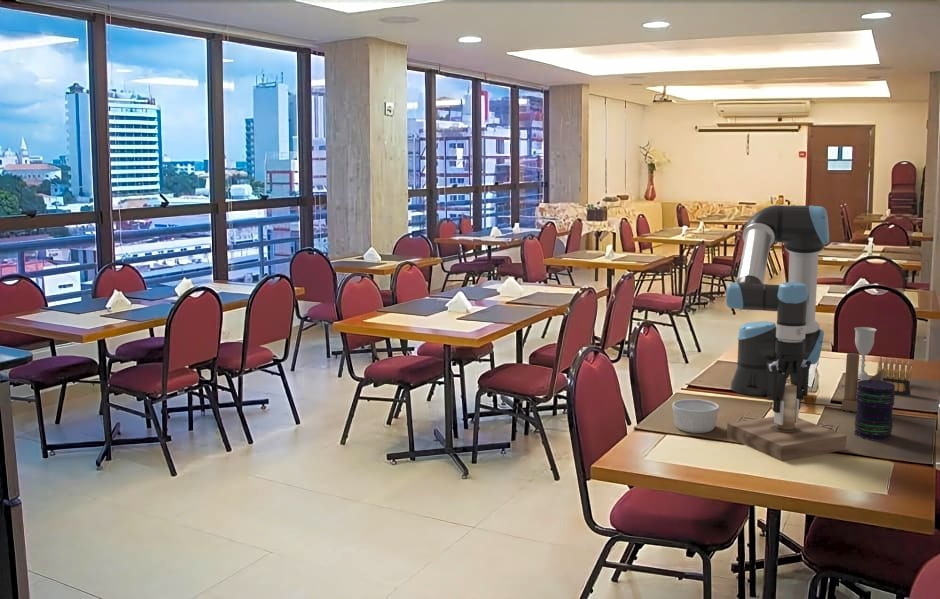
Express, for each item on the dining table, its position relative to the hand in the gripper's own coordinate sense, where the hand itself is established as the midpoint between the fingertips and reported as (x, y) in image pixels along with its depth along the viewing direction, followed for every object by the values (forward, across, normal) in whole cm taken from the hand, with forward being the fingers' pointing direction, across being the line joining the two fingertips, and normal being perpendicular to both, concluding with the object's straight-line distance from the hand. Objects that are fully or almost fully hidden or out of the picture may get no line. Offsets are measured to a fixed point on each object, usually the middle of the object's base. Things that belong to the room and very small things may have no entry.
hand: (786, 422), depth 249 cm
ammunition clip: (+6, +70, +28) cm, 76 cm away
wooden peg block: (+6, +43, +15) cm, 46 cm away
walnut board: (+6, 0, 0) cm, 6 cm away
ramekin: (+6, -14, +22) cm, 27 cm away
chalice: (+6, +76, +47) cm, 90 cm away
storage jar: (+6, +28, -4) cm, 29 cm away
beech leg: (+5, 0, 0) cm, 5 cm away
